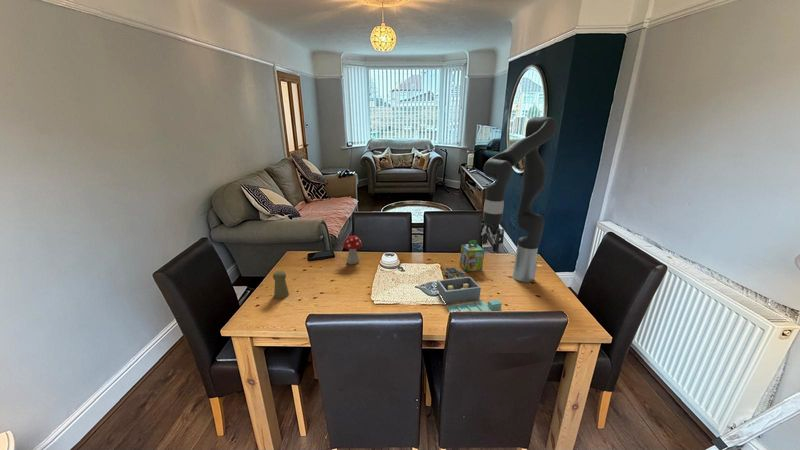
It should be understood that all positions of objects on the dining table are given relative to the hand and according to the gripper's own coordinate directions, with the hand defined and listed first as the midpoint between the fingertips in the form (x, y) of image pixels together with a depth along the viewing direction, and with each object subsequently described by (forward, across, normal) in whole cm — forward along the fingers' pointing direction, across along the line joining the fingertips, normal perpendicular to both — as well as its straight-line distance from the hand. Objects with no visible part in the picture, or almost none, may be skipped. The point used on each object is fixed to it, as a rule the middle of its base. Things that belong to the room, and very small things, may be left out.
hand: (489, 247), depth 135 cm
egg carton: (+24, +20, +5) cm, 32 cm away
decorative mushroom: (+23, +48, +50) cm, 73 cm away
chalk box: (+24, +28, -8) cm, 37 cm away
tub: (+23, +4, +11) cm, 26 cm away
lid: (+23, -9, +9) cm, 27 cm away
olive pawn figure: (+22, +23, +85) cm, 91 cm away
